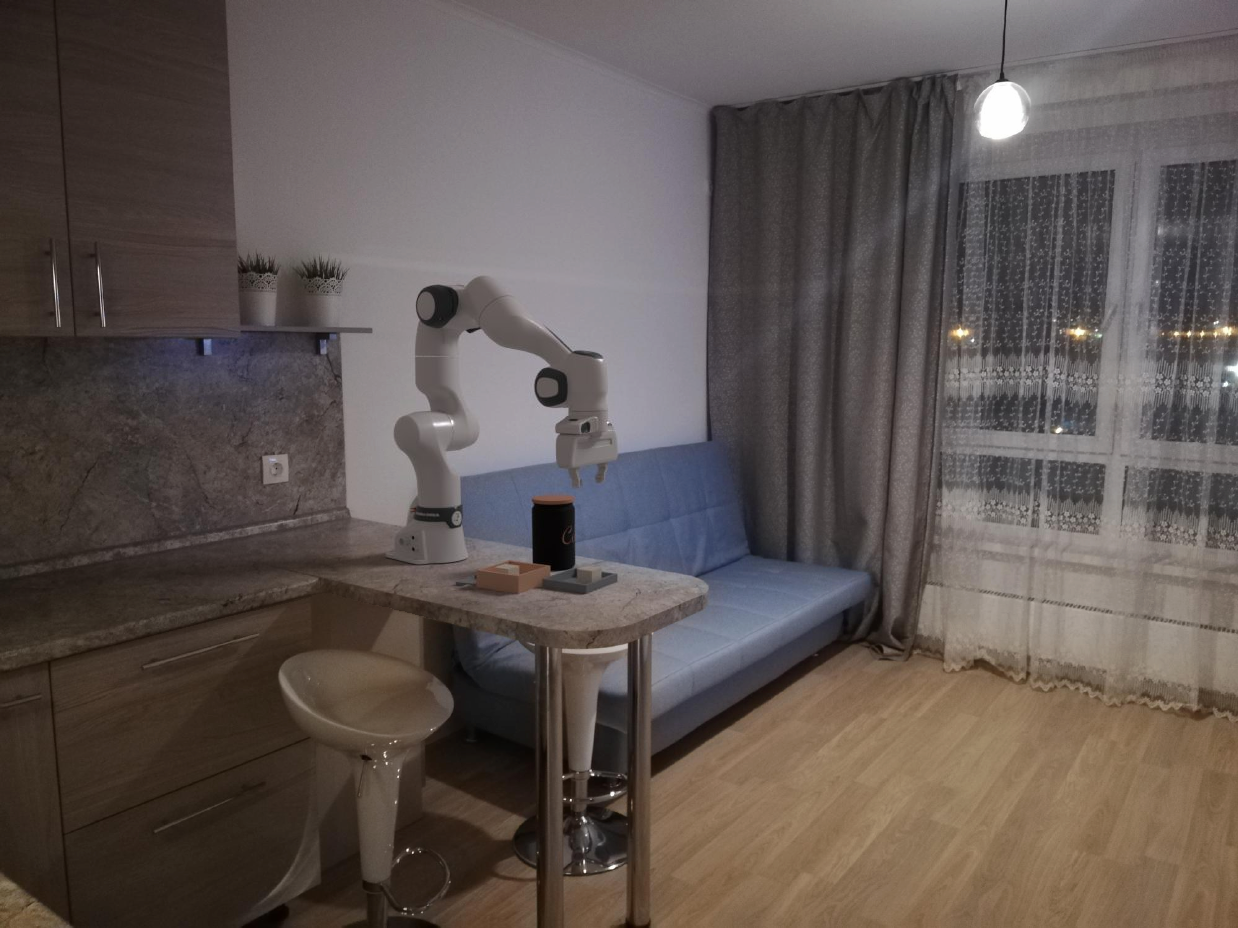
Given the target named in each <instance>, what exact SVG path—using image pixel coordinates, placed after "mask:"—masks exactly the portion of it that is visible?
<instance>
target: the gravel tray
mask: <svg viewBox="0 0 1238 928" xmlns="http://www.w3.org/2000/svg"><path fill="white" fill-rule="evenodd" d="M577 569H579V567H573V568H571V569H568V570H563V571H560V572H558V573H556V574H551V575H550V576H549V577H546V578H543V579H542V586H541V587H542V588H546V589H553V590H558V591H559V590H560V591H565V592H571V593H577V594H584V595H585V594H586V595H587V594H591V593H593V592H595V591H597V590H601V589H603V588H606V587H608V586H610V585H612V584H616V583H618V573H616V572H608V571H602V578H601V579H599V580H596V581H593V582H591V583H588V584H580V583H577Z"/></svg>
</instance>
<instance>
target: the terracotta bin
mask: <svg viewBox="0 0 1238 928" xmlns="http://www.w3.org/2000/svg"><path fill="white" fill-rule="evenodd" d="M503 564H510V565H517V566H519V575H512V574H506V573H499V572H495V567H497V566H500V565H503ZM475 574H476V578H477V585H476V588H481V589H488V590H492V591H493V590H495V591H500V592H507V593H513V594H516V595H517V594H518V595H519V594H523V593H525V592H528V591H531V590H533V589H536V588H539V587H542V579H543V578H546V577H549V576H551V571H550V566H548V565H541V564H533V562H525V561H518V560H510V559H509V560H505V561H502V562H498V563H495V564H492V565H488V566H485V567H482V568H478V569H476V571H475Z"/></svg>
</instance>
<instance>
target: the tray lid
mask: <svg viewBox="0 0 1238 928" xmlns="http://www.w3.org/2000/svg"><path fill="white" fill-rule="evenodd" d="M467 585H472V586H477V578H476V573H475V574H472V575H469V576H467V577H464V578H462V579H460V580H457V581H455V586H462V587H464V586H467Z"/></svg>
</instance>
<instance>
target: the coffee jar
mask: <svg viewBox="0 0 1238 928" xmlns="http://www.w3.org/2000/svg"><path fill="white" fill-rule="evenodd" d="M531 502H532V503H533V506H532V507H531V542H532V543H531V544H532V545H531V550H532V551H531V553H532V563H533V564H541V565H548V566H550V572H563V571H567V570H570V569H572V568H575V566H576V507H575V505H574V502H575V496H573V495H568V494H541V495H535V496H532V497H531Z"/></svg>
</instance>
